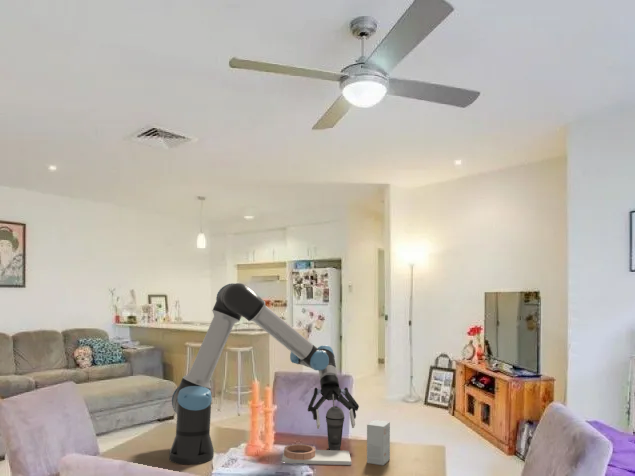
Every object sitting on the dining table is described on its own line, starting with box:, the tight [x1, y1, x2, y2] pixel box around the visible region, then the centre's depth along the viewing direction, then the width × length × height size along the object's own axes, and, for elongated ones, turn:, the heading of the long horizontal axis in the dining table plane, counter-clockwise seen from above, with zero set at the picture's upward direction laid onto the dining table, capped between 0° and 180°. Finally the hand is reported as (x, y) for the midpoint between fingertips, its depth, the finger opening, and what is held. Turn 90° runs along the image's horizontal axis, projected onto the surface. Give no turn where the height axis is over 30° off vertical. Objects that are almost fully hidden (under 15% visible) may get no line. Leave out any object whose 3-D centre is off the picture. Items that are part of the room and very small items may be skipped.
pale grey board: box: [281, 449, 352, 466], centre depth 173 cm, size 24×12×1 cm, turn 90°
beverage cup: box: [325, 394, 345, 451], centre depth 186 cm, size 7×7×20 cm
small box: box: [366, 419, 391, 466], centre depth 173 cm, size 8×6×13 cm
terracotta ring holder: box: [283, 443, 316, 460], centre depth 173 cm, size 11×11×2 cm
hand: (336, 426), depth 184 cm, fingers open, 13 cm apart
